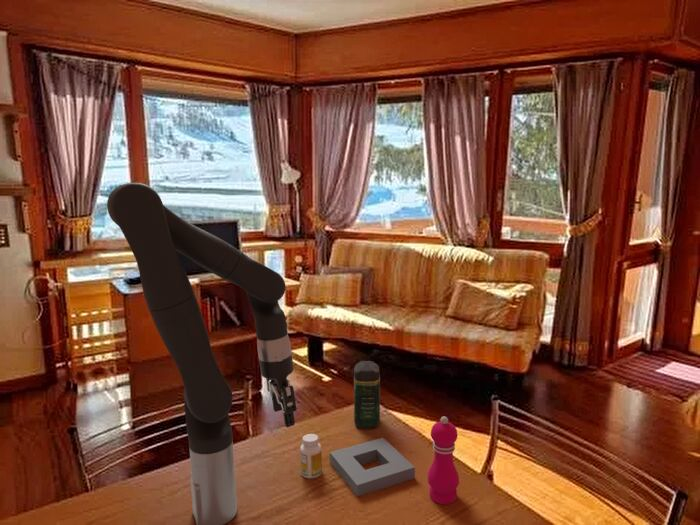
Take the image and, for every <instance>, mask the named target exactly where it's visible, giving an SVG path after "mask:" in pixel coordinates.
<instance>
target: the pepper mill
mask: <svg viewBox="0 0 700 525" xmlns="http://www.w3.org/2000/svg"><path fill="white" fill-rule="evenodd" d="M430 437H431V439H432V441H433V442H432V450H434V458H433V461H432V464H430V468H429V471H428V474H427V482H428V485H429V497H430V499H431V500H432V501H433V502H435V503H437V504H440V505H451V504H452V503H453V504H454V502H455V501H457V495H458V491H457V488H458V487H459V485H460V484H459V483H460V477H459V472H458V471H457V468H456V465H455V463H454V458H453V457H454V455H453V454H454V452H455V450H456V448H455V447H456V444H455V443H456V441H457V439H458V430H457V427H456V426H455V425H454V424H453V423H452V422H449V418H448V417H447V416H441V418H440V420H439V421H437V422H436V423H434V424H433V425H432V426H431V430H430Z"/></svg>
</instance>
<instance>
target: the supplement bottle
mask: <svg viewBox="0 0 700 525" xmlns="http://www.w3.org/2000/svg"><path fill="white" fill-rule="evenodd" d="M301 442H302V444H301V445H300V448H299V455H300V456H299V457H300V473H301V476H302V477H304V478H306V479H314V478H315V479H316V478H318V477H320V476H321V474H322V473H323V467H322V466H323V460H322V459H323V458H322V457H323V455H322V445H321V444H320V443H319V436H318V434H315V433H308V434H305V435H304V436H302V441H301Z"/></svg>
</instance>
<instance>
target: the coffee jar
mask: <svg viewBox="0 0 700 525" xmlns="http://www.w3.org/2000/svg"><path fill="white" fill-rule="evenodd" d="M380 372H381V371H380V366H379V365H378V364H377V363H376V362H375V361H373V360H360V361H359V362H357V363H356V364H355V365H354V368H353V405H354V408H353V410H354V411H353V418H354V419H353V420H354V421H353V422H354V425H355V427H358V428H362V429H367V430H368V429H370V430H371V429H373V428H377V427H378V426H379V425H380V421H381V420H380V419H381V374H380Z"/></svg>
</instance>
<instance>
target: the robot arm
mask: <svg viewBox="0 0 700 525" xmlns="http://www.w3.org/2000/svg"><path fill="white" fill-rule="evenodd" d="M106 201H107V202H106V208H107V213H108V215H109V217H110V219H111V220H112V222H113V223H114V224H116V226H118V227H119V229H120V230H121V232H122V234H123V236H124V238H125V240H126V241H127V244H128V246H129V248H130V250H131V252H132V253H133V256H134V258H135V260H136V261H135V262H136V263H137V268H138V273H139V278H140V283H141V289H142V293H143V296H144V297H143V298H144V300H145V303H146V305H147V309H148V311H149V314H150V317H151V319H152V321H153V324H154V326H155V328H156V330H157V332H158V334H159V336H160V338H161V340H162V342H163V344H164V346H165V348H166V349H167V352H168V353H169V355H170V357H171V358H172V360H173V362H174V363H175V365H176V367H177V370H178V372H179V374H180V377H181V380H182V384H183V404H184V406H183V407H184V413H185V414H184V415H185V416H184V417H185V426H186V434H187V438H188V447H189V448H188V449H189V460H190V461H189V462H190V475H189V478H190V480H189V482H190V490H191V491H190V493H191V502H192V503H191V505H192V514H193V518H194V520H195V524H196V525H225V524H228V523H229V522H231V521H232V520H233V519H234V517H235V516H236V515H237V513H238V512H237V511H238V507H237V506H238V502H237V500H238V499H237V487H236V486H237V485H236V474H235V473H236V470H235V458H234V455H235V454H234V442H233V441H234V440H233V436H234V435H233V429H232V428H233V427H232V424H231V421H230V419H231V418H230V415H229V413H230V411H231V409H232V406H233V398H234V397H233V392H232V388H231V387H230V385H229V383H228V382H227V380H226V378H225V377H224V375H223V373H222V371H221V368H220V367H219V365H218V362H217V360H216V357H215V355H214V351H213V350H212V345H211V342H210V337H209V334H208V329H207V326H206V322H205V319H204V317H203V314H202V310H201V307H200V304H199V301H198V299H197V298H198V297H197V296H196V293H195V291H194V288H193V285H192V284H191V282H190V279H189V276H188V274H187V273H186V270H185V267H184V265H183V263H182V261H181V259H180V258H179V257H180V256H178V253H177V252H179V253H180V254H182V255H183V256H185V257H186V258H188V259H189V260H190V261H192V262H194V263H196V264H197V265H199V266H200V267H202V268H203V269H205V270H206V271H208V272H210V273H212V274H213V275H215V276H217V277H219V278H220V279H222V280H224V281H227V282H229V283H231V284H234V285H236V286H237V287H239V288H241V289H242V290H243V291H245V292H246V295H247V300H248V303H249V306H250V307H249V308H250V309H251V313H252V315H253V318H254V328H255V332H256V333H255V335H256V347H257V354H258V362H259V367H260V368H259V369H260V374H261V376H262V377H263V378H264V379H265V380H266V388H267V389H266V390H267V391H268V392H269V396H270V397H271V401H272V402H271V404H272V409H273V411H274V412H276V413H277V412H280V411H282V414H283V420H284V421H283V422H284V426H285V427H286V428H290V427H293V426H294V425H296V421H295V415H294V414H295V413H294V412H297V410H298V408H297V405H296V404H297V403H296V397H295V396H296V395H295V390H294V386H293V385H291V383H290V380H289V379H288V376H289V375H291V374H292V373H293V371H294V368H295V367H294V362H293V355H292V354H293V353H292V346H291V341H290V340H291V339H290V336H289V333H288V327H287V319H286V318H287V317H286V314H285V312H284V310H283V309H282V308H281V307H280V304H279V301H280V300H281V299H282V298H283V297H284V294H286V288H287V287H286V282H285V279H284V278H283V277H282V275H281V274H280V273H278V272H277V271H275V270H274V269H272V268H270V267H267V266H266V265H264V264H262V263H260V262H258V261H256V260H255V259H252V258H251V257H249V256H248V255H246V253H245V252H243V251H241V250H240V249H238V248H237V247H235V246H234V245H232V244H230V243H228V242H227V241H225V240H223V239H221V238H219V237H218V236H216V235H214V234H213V233H211V232H208V231H206V230H205V229H202V228H200V227H197V226H196V225H194V224H192V223H190V222H189V221H187V220H186V219H184V218H182V217H180V216H179V215H177V214H176V213H175V212H173V211H172V210H170V209H169V208H168V207H166V206H165V205H164V204H163V203H164V202H163V201H162V199H161V197H160V195H159V194H158V192H157V191H156V190H155V189H154V188H153V187H151V186H150V185H148V184H145V183H141V182H128V183H125V184H124V183H123V184H121V185H119V186H117V187H115V188H113V190H112V191H111V192H110V193H109V196H108V198H107V200H106ZM288 404H289V405H288Z"/></svg>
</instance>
